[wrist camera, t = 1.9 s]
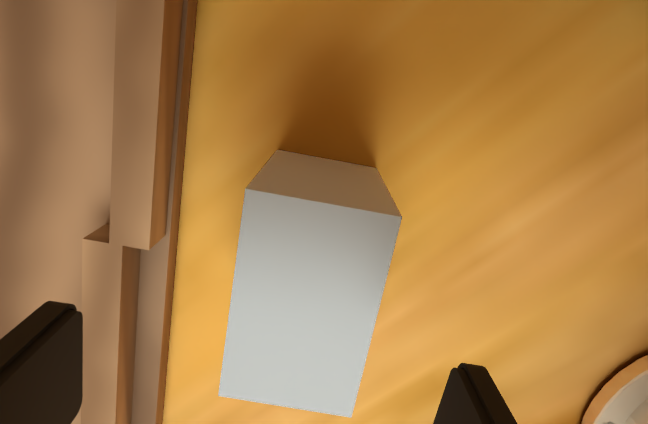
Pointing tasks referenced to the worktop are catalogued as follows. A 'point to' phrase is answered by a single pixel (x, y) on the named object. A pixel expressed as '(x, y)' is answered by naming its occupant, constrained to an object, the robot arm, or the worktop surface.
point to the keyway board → (96, 183)
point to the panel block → (307, 283)
